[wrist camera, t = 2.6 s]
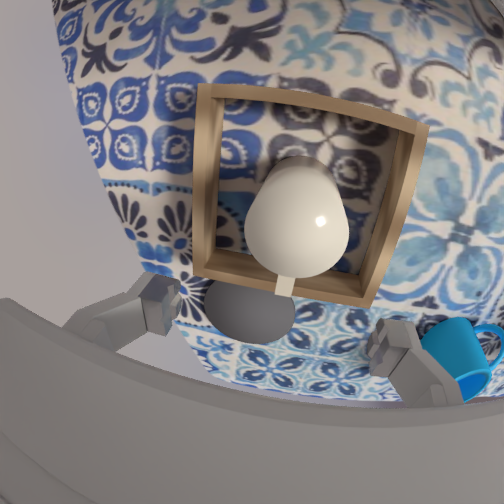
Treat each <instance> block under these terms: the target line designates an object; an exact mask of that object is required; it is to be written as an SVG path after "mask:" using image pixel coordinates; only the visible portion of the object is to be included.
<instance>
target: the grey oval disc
mask: <svg viewBox="0 0 504 504" xmlns="http://www.w3.org/2000/svg"><path fill="white" fill-rule="evenodd" d="M204 309H205V312H206V315H207V317H208V319H209V320H210V322H211V323H212V324H213V325H214V326H215V327H216V328H217V329H218V330H219V331H220V332H222V333H223V334H225V335H226V336H228V337H230V338H232V339H235V340H238V341H241V342H245V343H252V344H263V343H269V342H273V341H276V340H278V339H280V338H282V337H283V336H284V335H286V334H287V333H288V332H289V331H290V329H291V327H292V326H293V323H294V319H295V306H294V303H293V300H292V298H291V297H286V296H281V295H275V292H272V291H267V290H261V289H256V288H251V287H246V286H242V285H237V284H232V283H227V282H222V281H218V280H215V281H214V282H213V283H212V284H211V285H210V287H209V288H208V290H207V292H206V295H205V298H204Z"/></svg>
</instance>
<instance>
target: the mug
mask: <svg viewBox="0 0 504 504" xmlns="http://www.w3.org/2000/svg"><path fill="white" fill-rule="evenodd" d="M484 331H487V332H493V333H495V334H497V335H498V336H499V337H500V339H501V343H502V345H501V350H500V352H499V354H498V356H497V358H496V359H495V360H494V361H493V362H492V363H491V364H490V365H489V364H488V362H487V359H486V357H485V354H484V352H483V350H482V347H481V345H480V342H479V340H478V338H477V336H476V333H479V332H484ZM420 343H421V346H422V349H423V350H426V351H427V352H428V353H429V354H430V355H431V356H432V357H433V358H434V359H435V360H436V361H437V362H438V363H439V364H440V365H441V366H442V367H443V368H444V369H445V370H446V371H447V372H448V373H449V374H450V375H451V376H452V377H453V378H454V379H455V380H456V381H457V382H458V384H459V387H460V391H461V394H462V397H463V401H464V403H465V402H467V401H468V400H470V399H472V398H473V397H475V396H476V395H477V394H479V393H480V392H481V391H482V390H483V389H484V388H485V387H486V386H487V385H488V383H489V382H490V380H491V377H492V373H491V371H492V370H493V369H495V368H496V366H497V365H498V364H499V363H500V362H501V361H502V359H503V357H504V330H503V329H502V328H501V327H499V326H497V325H495V324H483V325H478V326H475V327H472V325H471V323H470V321H469V320H467V319H466V318H462V317H455V318H450V319H447V320H445V321H442V322H440V323H439V324H437V325H435V326H434V327H432V328H431V329H430V330H429V331H428V332H427V333H426V334H425V335H424V336H423V338H422V339H421V341H420Z"/></svg>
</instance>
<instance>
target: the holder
mask: <svg viewBox="0 0 504 504" xmlns="http://www.w3.org/2000/svg"><path fill="white" fill-rule="evenodd" d="M225 98H235V99H248V100H258V101H267V102H276V103H283V104H290V105H297V106H303V107H309V108H314V109H320V110H325V111H330V112H335V113H339V114H344V115H348V116H352V117H356V118H360V119H364V120H368V121H372V122H375V123H379V124H383V125H386V126H389V127H393V128H396V129H399V135H398V140H397V145H396V149H395V154H394V158H393V163H392V167H391V171H390V175H389V179H388V183H387V187H386V190H385V194H384V198H383V201H382V205H381V208H380V212H379V215H378V218H377V222H376V225H375V228H374V231H373V234H372V237H371V240H370V243H369V246H368V249H367V252H366V255H365V258H364V261H363V264H362V267H361V269H360V272H359V275H354V274H349V273H344V272H338V271H333V270H326V271H325V272H323V273H321V274H318V275H315V276H312V277H307V278H295V282H294V286H293V290H292V294H291V295H293V296H298V297H304V298H309V299H315V300H320V301H326V302H332V303H338V304H343V305H350V306H356V307H362V308H368V309H369V308H370V306H371V304H372V302H373V300H374V298H375V295H376V293H377V291H378V289H379V286H380V284H381V282H382V279H383V277H384V275H385V272H386V270H387V267H388V265H389V262H390V260H391V257H392V255H393V252H394V249H395V247H396V244H397V241H398V239H399V236H400V233H401V230H402V227H403V224H404V221H405V218H406V215H407V212H408V209H409V206H410V203H411V199H412V196H413V193H414V189H415V186H416V182H417V179H418V175H419V171H420V167H421V163H422V159H423V155H424V151H425V146H426V142H427V137H428V132H429V127H430V126H429V125H426V124H424V123H421V122H418V121H416V120H413V119H410V118H407V117H404V116H401V115H398V114H395V113H391V112H388V111H385V110H381V109H378V108H374V107H371V106H367V105H363V104H359V103H355V102H351V101H347V100H343V99H338V98H333V97H329V96H323V95H318V94H313V93H307V92H301V91H294V90H287V89H279V88H271V87H261V86H250V85H235V84H208V83H198V90H197V103H196V117H195V135H194V157H193V193H192V253H193V275H195V276H199V277H204V278H208V279H213V280H218V281H222V282H227V283H232V284H237V285H242V286H246V287H251V288H256V289H261V290H267V291H272V292H275V289H276V284H277V279H278V274H276V273H274V272H272V271H270V270H268V269H267V268H265V267H264V266H262V265H261V264H260V263H259V262H258V261H257V260H256V259H255V258H254V256H253V255H248V254H243V253H238V252H232V251H227V250H222V249H217V248H216V225H217V204H218V186H219V170H220V155H221V141H222V128H223V116H224V105H225Z"/></svg>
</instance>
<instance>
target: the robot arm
mask: <svg viewBox="0 0 504 504" xmlns="http://www.w3.org/2000/svg"><path fill="white" fill-rule="evenodd" d="M491 2H492V3H493V4H494V5H495V6H496V8H497V9H498V10H499V11H500V13H501V14H502V15H503V17H504V0H491ZM180 289H181V284H180V281H179V280H178V279H174V278H171V277H167V276H163V275H159V274H155V273H151V272H148V271H147V272H144V273H143V274H142V275H141V277H140V278H139V279H138V280H137V281H136V282H135V284H134V285H133V286H132V287H131V288H130V289H129V291H128V292H127V293H124V292H123V293H120V294H118V295H116V296H113V297H110V298H108V299H105V300H102V301H100V302H97V303H94V304H92V305H89V306H87V307H84V308H82V309H79V310H77V311H76V312H75V313H74V314H73V315H72V316H71V318H70V319H69V320H68V321H67V322H66V323H65V325H64V326H63V327H62V328H61V327H59V326H57V325H55V324H53V323H51V322H50V321H47V320H46V319H44V318H42V317H40V316H38V315H37V314H35V313H33V312H32V311H30V310H28V309H26V308H25V307H23V306H21V305H20V304H18V303H17V302H15V301H14V300H11V299H10V298H3V299H0V504H504V399H500V400H494V401H489V402H482V403H475V404H467V405H464V401H463V397H462V394H461V391H460V387H459V384H458V382H457V381H456V380H455V379H454V378H453V377H452V376H451V375H450V374H449V373H448V372H447V371H446V370H445V369H444V368H443V367H442V366H441V365H440V364H439V363H438V362H437V361H436V360H435V359H434V358H433V357H432V356H431V355H430V354H429V353H428V352H427V351H426V350H423V349H422V346H421V343H420V340H419V337H418V334H417V331H416V328H415V325H414V323H413V322H410V321H399V320H391V319H384V318H380V319H379V320H378V322H377V324H376V329H377V330H375V331H374V332H372V333H371V335H370V337H369V340H368V344H367V353H368V356H369V357H370V358H371V360H370V362H369V368H370V376H379V377H389V378H388V379H389V380H390V382H391V383H392V385H393V386H394V388H395V389H396V391H397V392H398V394H399V395H400V397H401V399H402V400H403V402H404V403H405V405H406V406H407V408H404V409H403V408H400V409H399V408H395V409H394V408H361V407H346V406H333V405H324V404H315V403H307V402H299V401H292V400H286V399H279V398H274V397H268V396H263V395H258V394H252V393H248V392H243V391H239V390H234V389H230V388H226V387H221V386H218V385H213V384H210V383H206V382H202V381H198V380H195V379H192V378H188V377H185V376H181V375H178V374H175V373H172V372H169V371H165V370H162V369H159V368H156V367H154V366H151V365H148V364H145V363H142V362H139V361H137V360H134V359H131V358H129V357H126V356H124V355H121V354H119V353H116V351H117V350H119V349H121V348H122V347H124V346H125V345H127V344H129V343H131V342H132V341H134V340H135V339H137V338H139V337H140V336H142V335H144V334H145V333H147V331H148V332H152V333H155V334H159V335H162V336H166V335H167V334H168V332H169V330H170V328H171V327H172V320H173V319H175V318H177V316H178V314H179V312H180V308H181V302H182V300H181V295H180V294H179V293H178V292H179V290H180Z"/></svg>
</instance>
